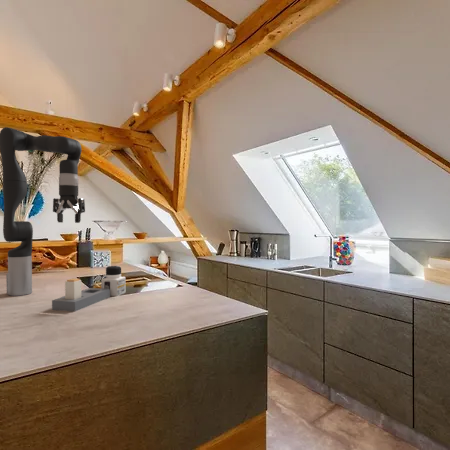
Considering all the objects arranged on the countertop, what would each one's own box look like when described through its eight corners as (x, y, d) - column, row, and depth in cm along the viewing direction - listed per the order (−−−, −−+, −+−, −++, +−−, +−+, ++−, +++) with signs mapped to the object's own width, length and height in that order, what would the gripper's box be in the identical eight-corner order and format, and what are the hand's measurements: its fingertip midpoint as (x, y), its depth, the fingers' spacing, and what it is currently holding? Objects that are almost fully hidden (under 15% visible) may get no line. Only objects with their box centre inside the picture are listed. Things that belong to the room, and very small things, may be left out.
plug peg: (65, 307, 123) (65, 280, 122) (72, 304, 127) (72, 278, 126) (74, 308, 122) (74, 280, 122) (81, 305, 126) (81, 278, 125)
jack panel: (52, 311, 120) (52, 300, 120) (89, 296, 141) (89, 287, 141) (75, 312, 118) (75, 301, 118) (110, 298, 139) (109, 289, 139)
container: (117, 297, 141) (116, 267, 141) (101, 296, 142) (100, 267, 142) (125, 293, 148) (125, 265, 148) (110, 292, 150) (110, 264, 150)
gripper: (48, 184, 136) (48, 222, 136) (77, 183, 132) (77, 223, 133) (60, 185, 143) (61, 222, 144) (88, 185, 140) (89, 222, 140)
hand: (68, 222), depth 138 cm, fingers open, 8 cm apart
